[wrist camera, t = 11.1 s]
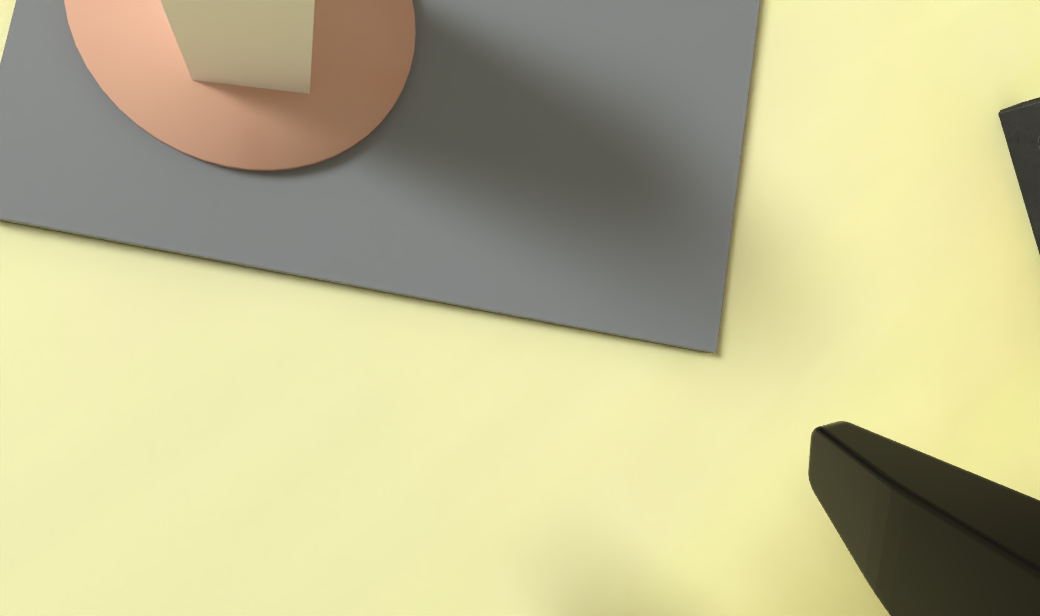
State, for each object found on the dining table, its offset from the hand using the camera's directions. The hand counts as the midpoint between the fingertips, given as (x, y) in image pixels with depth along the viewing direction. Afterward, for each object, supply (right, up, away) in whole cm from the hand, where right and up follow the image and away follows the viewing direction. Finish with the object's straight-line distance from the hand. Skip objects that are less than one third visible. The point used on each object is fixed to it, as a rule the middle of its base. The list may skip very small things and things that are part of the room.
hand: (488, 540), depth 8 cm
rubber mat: (-2, +10, +12) cm, 16 cm away
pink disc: (-7, +11, +10) cm, 17 cm away
